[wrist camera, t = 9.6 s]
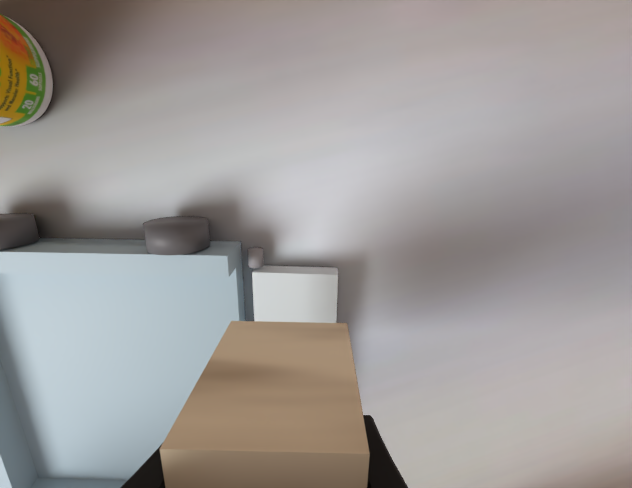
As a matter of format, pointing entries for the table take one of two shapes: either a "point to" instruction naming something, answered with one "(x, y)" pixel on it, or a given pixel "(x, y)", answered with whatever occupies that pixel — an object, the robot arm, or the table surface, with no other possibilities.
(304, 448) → the light wooden block
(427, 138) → the table surface
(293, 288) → the tailgate
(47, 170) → the table surface
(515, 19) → the table surface
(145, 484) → the robot arm
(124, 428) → the truck bed
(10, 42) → the supplement bottle
